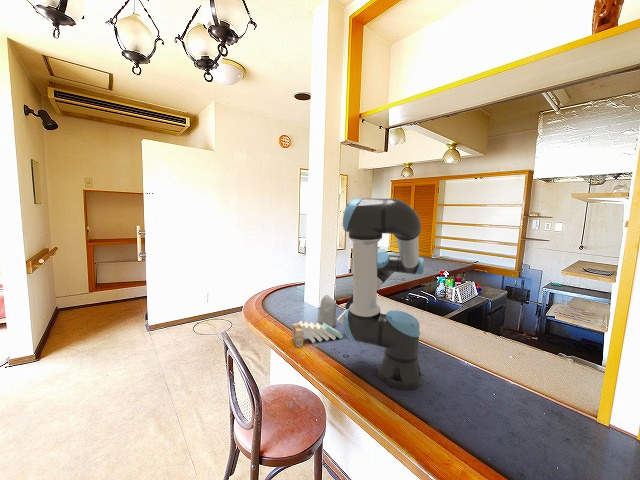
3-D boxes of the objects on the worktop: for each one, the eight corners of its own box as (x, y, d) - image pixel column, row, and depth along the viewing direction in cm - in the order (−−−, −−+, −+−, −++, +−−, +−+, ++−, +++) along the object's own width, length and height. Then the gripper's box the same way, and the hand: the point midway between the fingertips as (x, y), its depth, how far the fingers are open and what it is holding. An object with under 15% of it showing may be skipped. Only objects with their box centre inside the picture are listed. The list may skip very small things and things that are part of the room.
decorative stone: (338, 326, 140) (338, 298, 138) (329, 329, 136) (330, 300, 134) (324, 319, 148) (324, 293, 146) (315, 322, 144) (316, 295, 142)
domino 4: (336, 337, 124) (320, 326, 121) (334, 340, 124) (318, 329, 121) (332, 332, 129) (317, 322, 126) (330, 335, 129) (315, 325, 126)
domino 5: (343, 336, 126) (327, 326, 122) (341, 339, 125) (325, 329, 122) (339, 331, 130) (323, 322, 127) (337, 334, 130) (321, 325, 127)
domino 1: (315, 341, 121) (304, 324, 118) (312, 343, 121) (301, 327, 118) (312, 336, 126) (301, 320, 123) (309, 338, 126) (298, 322, 123)
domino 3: (329, 338, 123) (314, 326, 120) (327, 341, 123) (312, 328, 120) (325, 333, 128) (311, 321, 125) (323, 336, 128) (309, 324, 125)
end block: (303, 346, 118) (303, 330, 117) (296, 347, 117) (296, 331, 116) (298, 338, 125) (298, 322, 125) (292, 339, 124) (292, 323, 124)
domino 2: (322, 339, 122) (309, 325, 119) (320, 342, 122) (306, 328, 119) (319, 334, 127) (306, 321, 124) (316, 337, 127) (303, 323, 124)
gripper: (383, 294, 125) (349, 332, 122) (369, 286, 138) (338, 321, 134) (373, 283, 123) (339, 322, 120) (360, 276, 135) (329, 311, 132)
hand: (339, 321), depth 127 cm, fingers closed
